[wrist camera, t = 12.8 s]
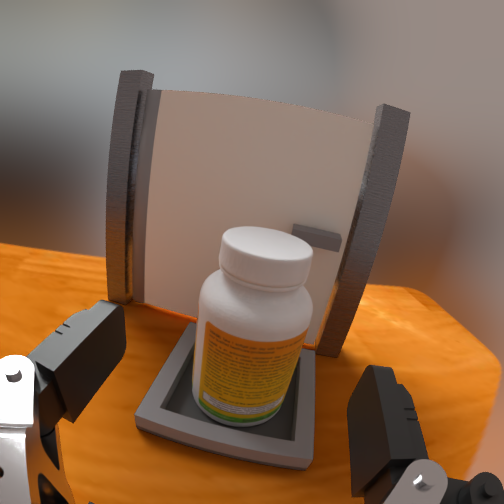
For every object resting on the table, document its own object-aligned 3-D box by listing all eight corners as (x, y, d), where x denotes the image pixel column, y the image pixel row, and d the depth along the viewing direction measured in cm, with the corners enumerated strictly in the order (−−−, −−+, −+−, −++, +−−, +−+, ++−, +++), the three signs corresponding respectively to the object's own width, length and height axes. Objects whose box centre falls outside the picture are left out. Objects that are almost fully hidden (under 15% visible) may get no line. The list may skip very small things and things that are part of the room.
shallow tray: (136, 427, 13) (134, 414, 13) (188, 335, 22) (190, 321, 21) (305, 470, 12) (313, 459, 12) (309, 364, 21) (314, 350, 20)
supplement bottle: (298, 414, 16) (355, 264, 12) (210, 440, 13) (236, 273, 10) (257, 358, 20) (287, 221, 17) (180, 371, 18) (191, 219, 14)
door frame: (108, 299, 23) (120, 70, 17) (118, 289, 25) (133, 74, 19) (337, 357, 22) (410, 112, 15) (335, 343, 23) (401, 114, 17)
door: (121, 307, 22) (133, 87, 16) (138, 290, 25) (153, 92, 19) (313, 357, 21) (379, 122, 15) (313, 334, 23) (369, 125, 17)
